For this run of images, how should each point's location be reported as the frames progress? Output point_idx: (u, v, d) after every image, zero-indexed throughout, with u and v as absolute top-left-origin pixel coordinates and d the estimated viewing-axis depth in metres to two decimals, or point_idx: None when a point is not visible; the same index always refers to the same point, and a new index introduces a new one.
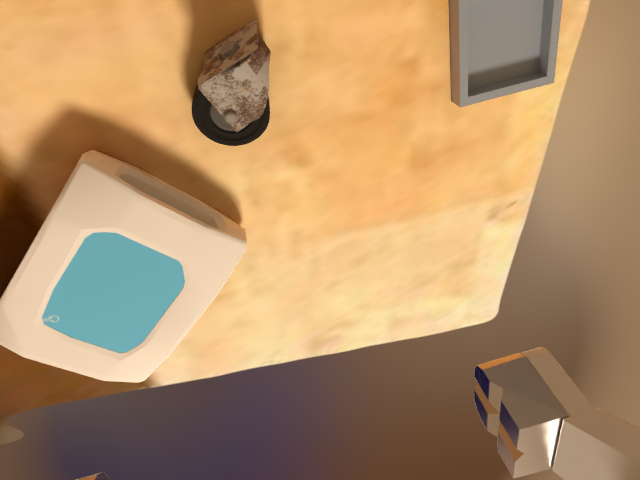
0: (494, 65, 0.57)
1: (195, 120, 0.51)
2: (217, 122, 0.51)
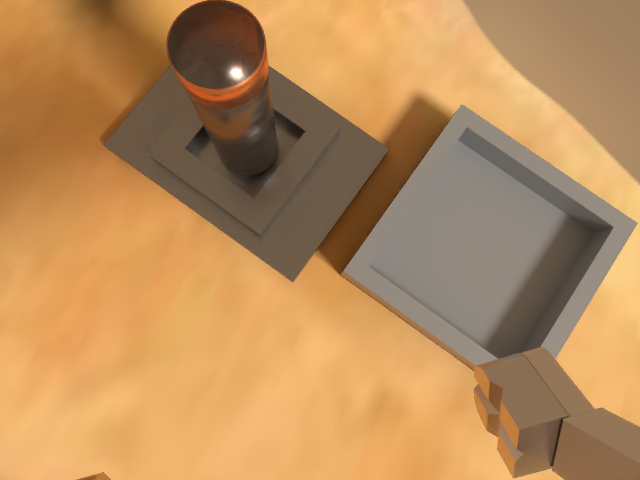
0: (513, 288, 0.28)
1: None
2: None
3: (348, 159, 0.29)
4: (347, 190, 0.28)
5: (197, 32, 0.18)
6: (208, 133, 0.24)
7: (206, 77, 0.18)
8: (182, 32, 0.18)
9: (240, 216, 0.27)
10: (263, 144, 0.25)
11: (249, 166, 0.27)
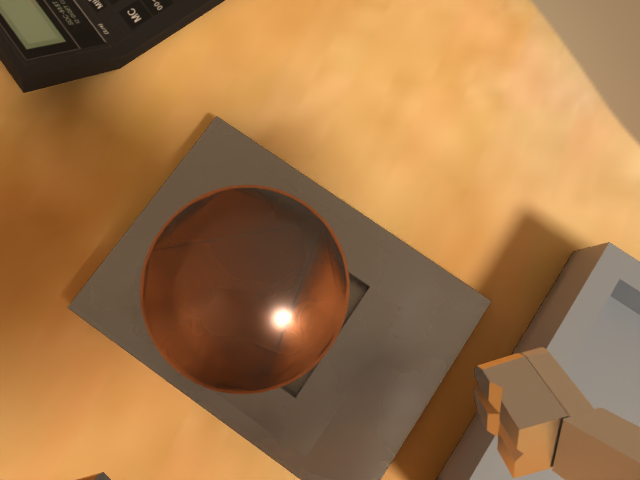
0: None
1: None
2: None
3: (431, 319, 0.19)
4: (432, 368, 0.19)
5: (205, 260, 0.08)
6: None
7: (226, 364, 0.08)
8: (173, 261, 0.08)
9: (274, 428, 0.17)
10: None
11: None
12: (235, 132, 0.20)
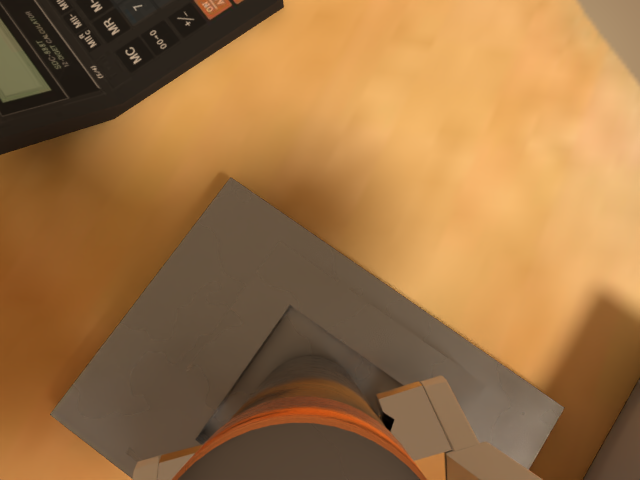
0: None
1: None
2: None
3: (491, 430, 0.16)
4: None
5: None
6: None
7: None
8: None
9: None
10: None
11: None
12: (253, 197, 0.17)
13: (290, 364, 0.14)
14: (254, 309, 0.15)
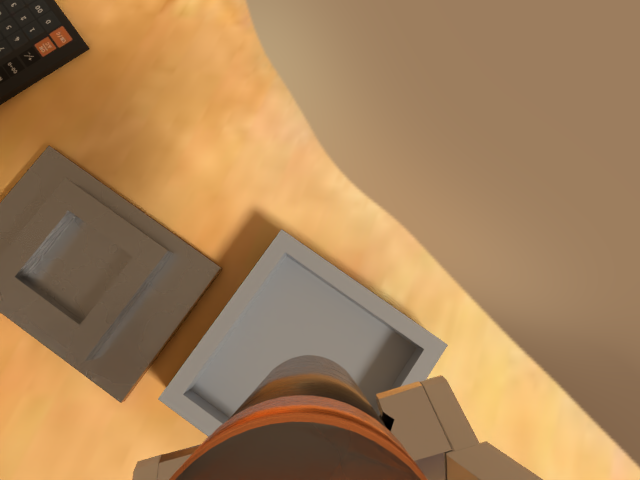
0: None
1: None
2: None
3: (180, 279, 0.30)
4: (178, 310, 0.30)
5: None
6: None
7: None
8: None
9: (65, 343, 0.28)
10: None
11: None
12: (60, 156, 0.31)
13: (290, 363, 0.14)
14: (49, 212, 0.29)
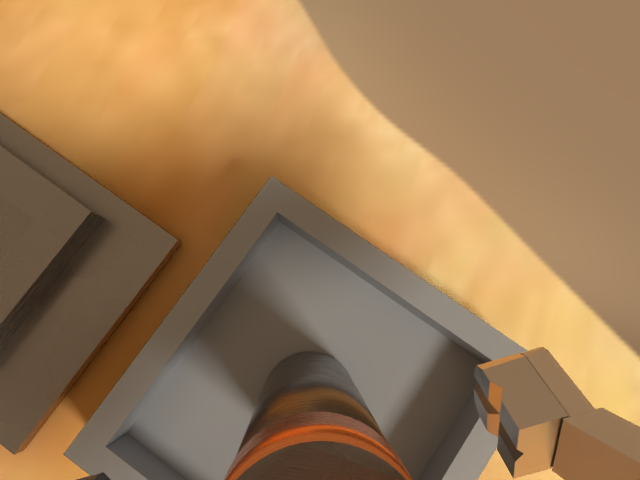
0: None
1: None
2: None
3: (114, 257, 0.19)
4: (109, 306, 0.19)
5: None
6: None
7: None
8: None
9: None
10: None
11: None
12: None
13: (294, 363, 0.16)
14: None
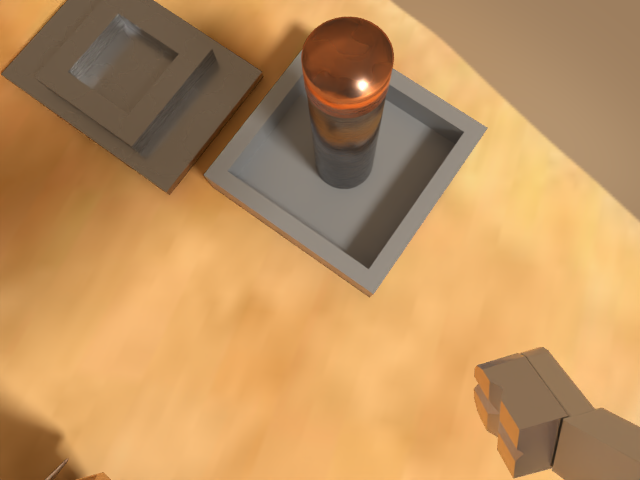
0: (375, 196, 0.29)
1: None
2: None
3: (223, 82, 0.31)
4: (221, 109, 0.31)
5: (328, 47, 0.19)
6: (319, 146, 0.25)
7: (340, 87, 0.19)
8: (315, 48, 0.19)
9: (115, 130, 0.29)
10: (369, 155, 0.26)
11: (350, 178, 0.28)
12: None
13: None
14: (100, 15, 0.31)
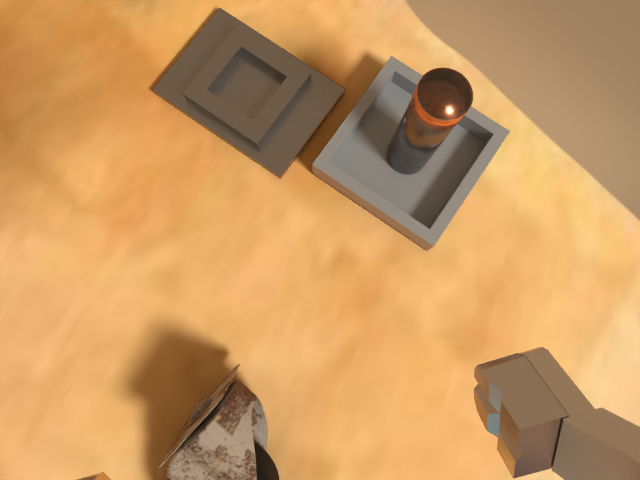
0: (429, 179, 0.41)
1: None
2: None
3: (317, 96, 0.42)
4: (316, 117, 0.42)
5: (433, 87, 0.31)
6: (404, 146, 0.36)
7: (441, 113, 0.30)
8: (424, 87, 0.31)
9: (244, 132, 0.40)
10: (434, 152, 0.37)
11: (416, 167, 0.39)
12: (228, 15, 0.44)
13: None
14: (228, 47, 0.42)
